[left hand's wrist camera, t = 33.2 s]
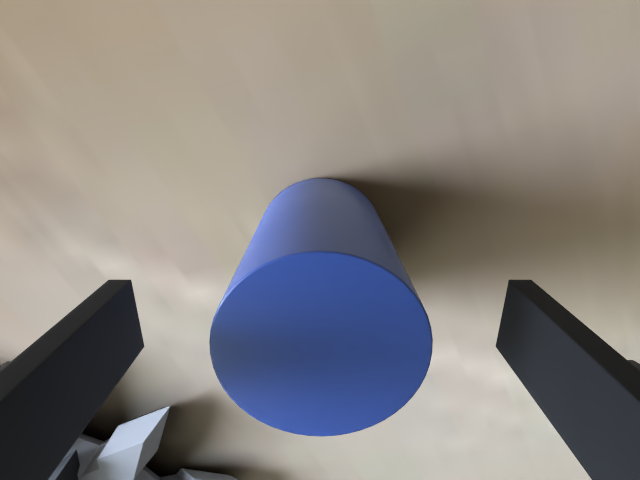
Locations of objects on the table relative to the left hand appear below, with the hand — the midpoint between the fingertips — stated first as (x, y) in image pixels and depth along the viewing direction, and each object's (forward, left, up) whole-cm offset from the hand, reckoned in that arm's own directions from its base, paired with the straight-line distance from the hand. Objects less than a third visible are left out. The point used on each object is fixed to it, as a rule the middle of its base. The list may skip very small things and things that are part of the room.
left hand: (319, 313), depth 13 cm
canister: (0, 0, -7) cm, 7 cm away
